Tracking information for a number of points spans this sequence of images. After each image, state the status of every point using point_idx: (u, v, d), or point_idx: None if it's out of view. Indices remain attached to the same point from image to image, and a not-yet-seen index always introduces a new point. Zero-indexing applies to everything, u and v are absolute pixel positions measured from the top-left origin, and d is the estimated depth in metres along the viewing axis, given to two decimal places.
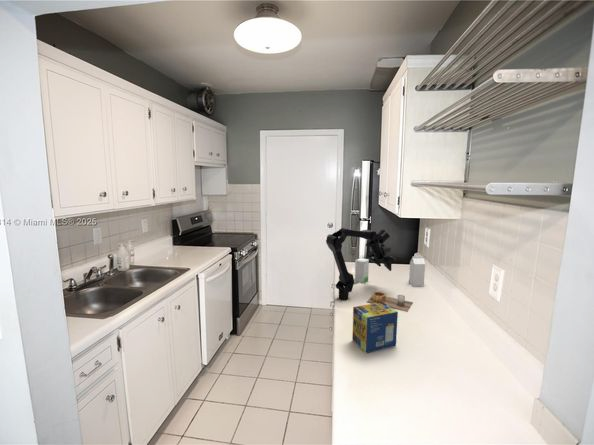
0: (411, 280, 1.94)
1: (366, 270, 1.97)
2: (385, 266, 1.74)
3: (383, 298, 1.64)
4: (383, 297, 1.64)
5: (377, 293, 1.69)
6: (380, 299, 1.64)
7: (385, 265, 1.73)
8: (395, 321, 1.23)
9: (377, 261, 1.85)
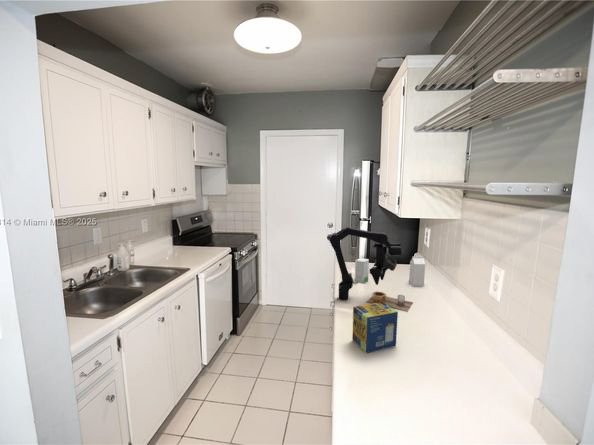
0: (411, 280, 1.94)
1: (366, 270, 1.97)
2: (372, 274, 1.62)
3: (383, 298, 1.64)
4: (383, 297, 1.64)
5: (377, 293, 1.69)
6: (380, 299, 1.64)
7: None
8: (395, 321, 1.23)
9: (381, 272, 1.69)
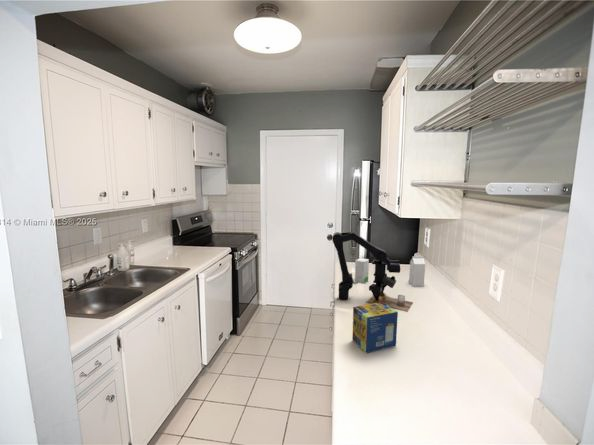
0: (411, 280, 1.94)
1: (366, 270, 1.97)
2: (372, 290, 1.64)
3: (383, 298, 1.64)
4: (383, 297, 1.64)
5: None
6: (380, 299, 1.64)
7: None
8: (395, 321, 1.23)
9: None
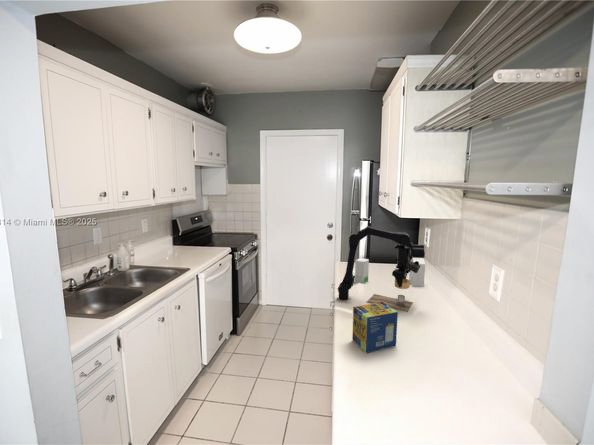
0: (411, 280, 1.94)
1: (366, 270, 1.97)
2: (395, 276, 1.56)
3: (407, 284, 1.56)
4: (407, 283, 1.56)
5: None
6: (403, 286, 1.56)
7: None
8: (395, 321, 1.23)
9: None
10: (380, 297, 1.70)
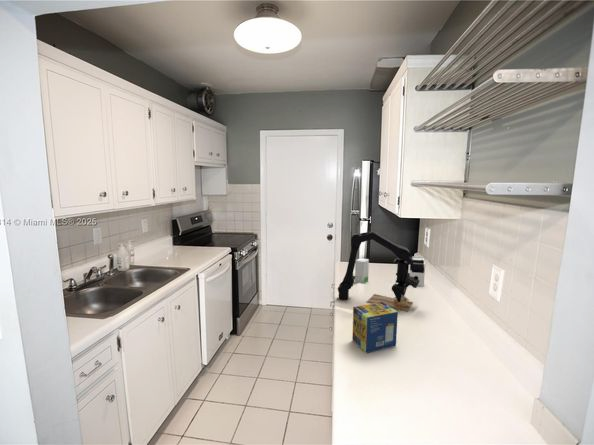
0: None
1: (366, 270, 1.97)
2: None
3: (406, 303, 1.58)
4: (406, 302, 1.57)
5: None
6: (402, 304, 1.57)
7: None
8: (395, 321, 1.23)
9: None
10: (380, 297, 1.70)
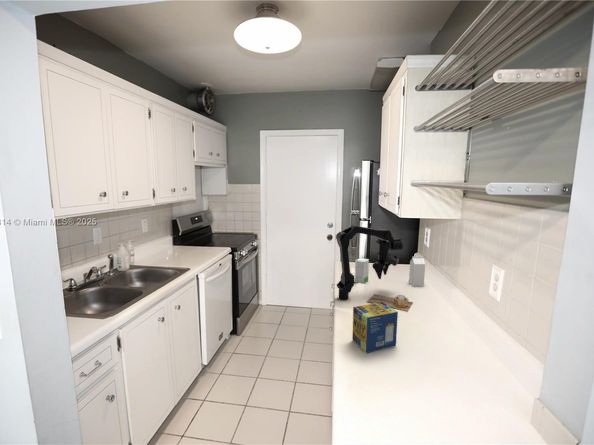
0: (411, 280, 1.94)
1: (366, 270, 1.97)
2: None
3: (406, 303, 1.58)
4: (406, 302, 1.57)
5: None
6: (402, 304, 1.57)
7: None
8: (395, 321, 1.23)
9: (385, 268, 1.77)
10: (380, 297, 1.70)
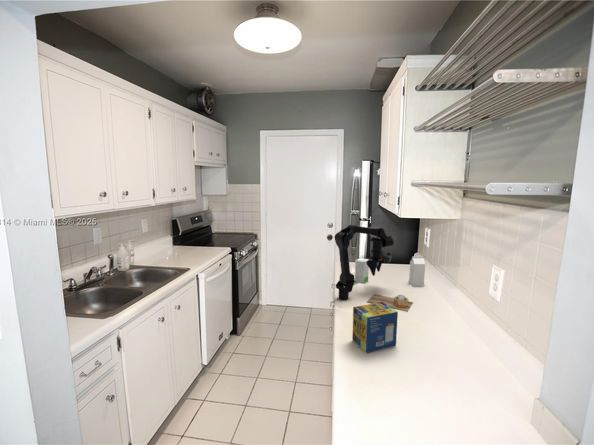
0: (411, 280, 1.94)
1: (366, 270, 1.97)
2: None
3: (406, 303, 1.58)
4: (406, 302, 1.57)
5: None
6: (402, 304, 1.57)
7: None
8: (395, 321, 1.23)
9: None
10: (380, 297, 1.70)
